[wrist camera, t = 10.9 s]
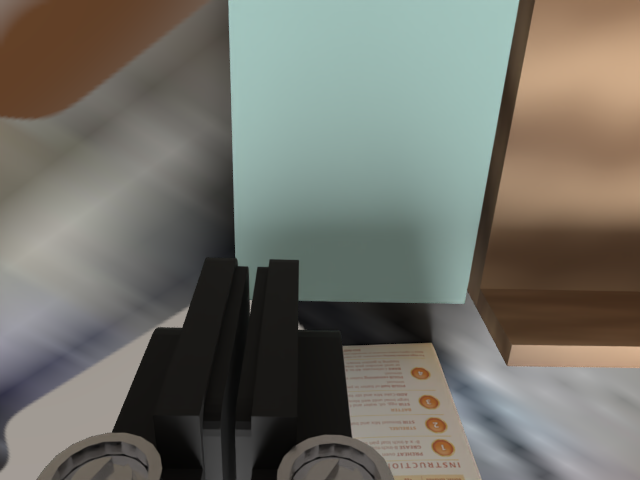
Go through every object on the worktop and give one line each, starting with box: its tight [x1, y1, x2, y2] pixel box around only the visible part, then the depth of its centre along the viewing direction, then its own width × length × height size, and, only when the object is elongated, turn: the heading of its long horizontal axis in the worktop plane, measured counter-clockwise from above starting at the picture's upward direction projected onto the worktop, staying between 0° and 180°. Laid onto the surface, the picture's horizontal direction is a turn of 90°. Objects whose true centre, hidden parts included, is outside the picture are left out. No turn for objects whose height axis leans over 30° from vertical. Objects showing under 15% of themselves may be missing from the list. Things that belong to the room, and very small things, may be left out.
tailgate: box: [228, 0, 519, 304], centre depth 26 cm, size 19×2×12 cm
